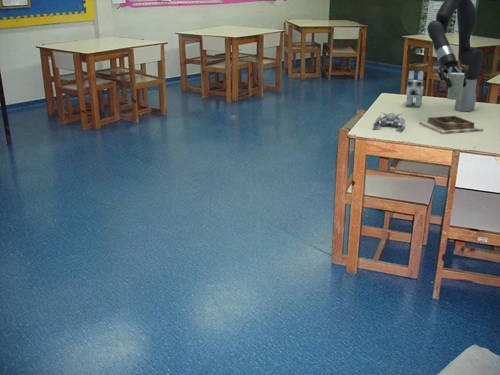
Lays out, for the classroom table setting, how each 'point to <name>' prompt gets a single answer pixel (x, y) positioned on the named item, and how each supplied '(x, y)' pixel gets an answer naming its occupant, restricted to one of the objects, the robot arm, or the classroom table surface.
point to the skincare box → (456, 86)
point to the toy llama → (414, 89)
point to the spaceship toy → (389, 118)
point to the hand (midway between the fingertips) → (457, 86)
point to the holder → (450, 125)
